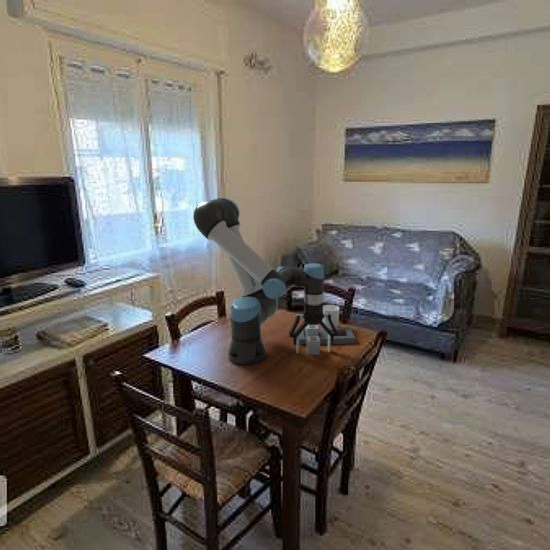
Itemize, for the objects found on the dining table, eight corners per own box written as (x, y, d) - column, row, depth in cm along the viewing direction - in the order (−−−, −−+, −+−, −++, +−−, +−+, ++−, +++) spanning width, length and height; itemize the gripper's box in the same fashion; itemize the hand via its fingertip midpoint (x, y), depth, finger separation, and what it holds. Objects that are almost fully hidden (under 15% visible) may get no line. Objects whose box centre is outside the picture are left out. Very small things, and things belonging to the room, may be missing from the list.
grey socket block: (299, 344, 171) (299, 331, 169) (297, 333, 182) (297, 320, 180) (355, 343, 172) (355, 329, 170) (349, 332, 182) (350, 319, 180)
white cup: (338, 324, 191) (339, 304, 188) (339, 331, 183) (340, 311, 180) (321, 324, 191) (322, 304, 189) (321, 331, 184) (322, 310, 181)
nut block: (307, 354, 163) (307, 340, 161) (306, 349, 167) (306, 335, 165) (319, 354, 163) (320, 340, 161) (318, 348, 167) (318, 334, 166)
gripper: (283, 306, 155) (283, 356, 161) (346, 305, 155) (344, 354, 162) (282, 300, 162) (282, 347, 168) (342, 298, 163) (341, 346, 169)
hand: (313, 351), depth 165 cm, fingers open, 12 cm apart
